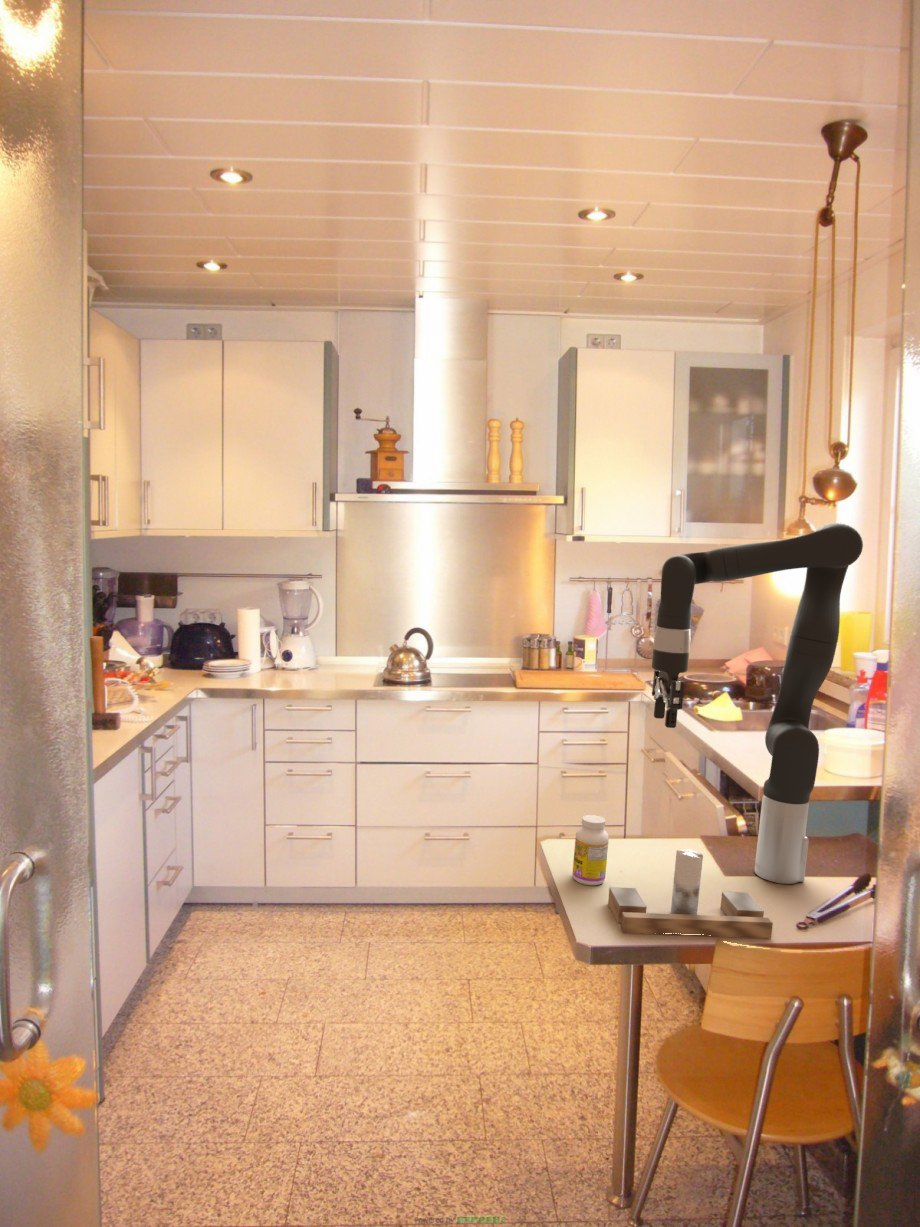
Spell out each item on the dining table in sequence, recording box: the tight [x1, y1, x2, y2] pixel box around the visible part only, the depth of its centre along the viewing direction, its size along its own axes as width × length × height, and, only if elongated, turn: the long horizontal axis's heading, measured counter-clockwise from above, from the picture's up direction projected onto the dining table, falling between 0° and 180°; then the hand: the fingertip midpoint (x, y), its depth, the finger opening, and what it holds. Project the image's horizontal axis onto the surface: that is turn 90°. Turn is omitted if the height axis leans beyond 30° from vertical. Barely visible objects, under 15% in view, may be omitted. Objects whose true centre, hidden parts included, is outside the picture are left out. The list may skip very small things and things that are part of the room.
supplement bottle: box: [572, 814, 610, 886], centre depth 181 cm, size 7×7×13 cm
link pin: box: [670, 848, 704, 915], centre depth 168 cm, size 5×5×12 cm
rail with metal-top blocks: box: [607, 886, 774, 939], centre depth 166 cm, size 27×12×3 cm, turn 94°
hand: (664, 722), depth 194 cm, fingers open, 8 cm apart
